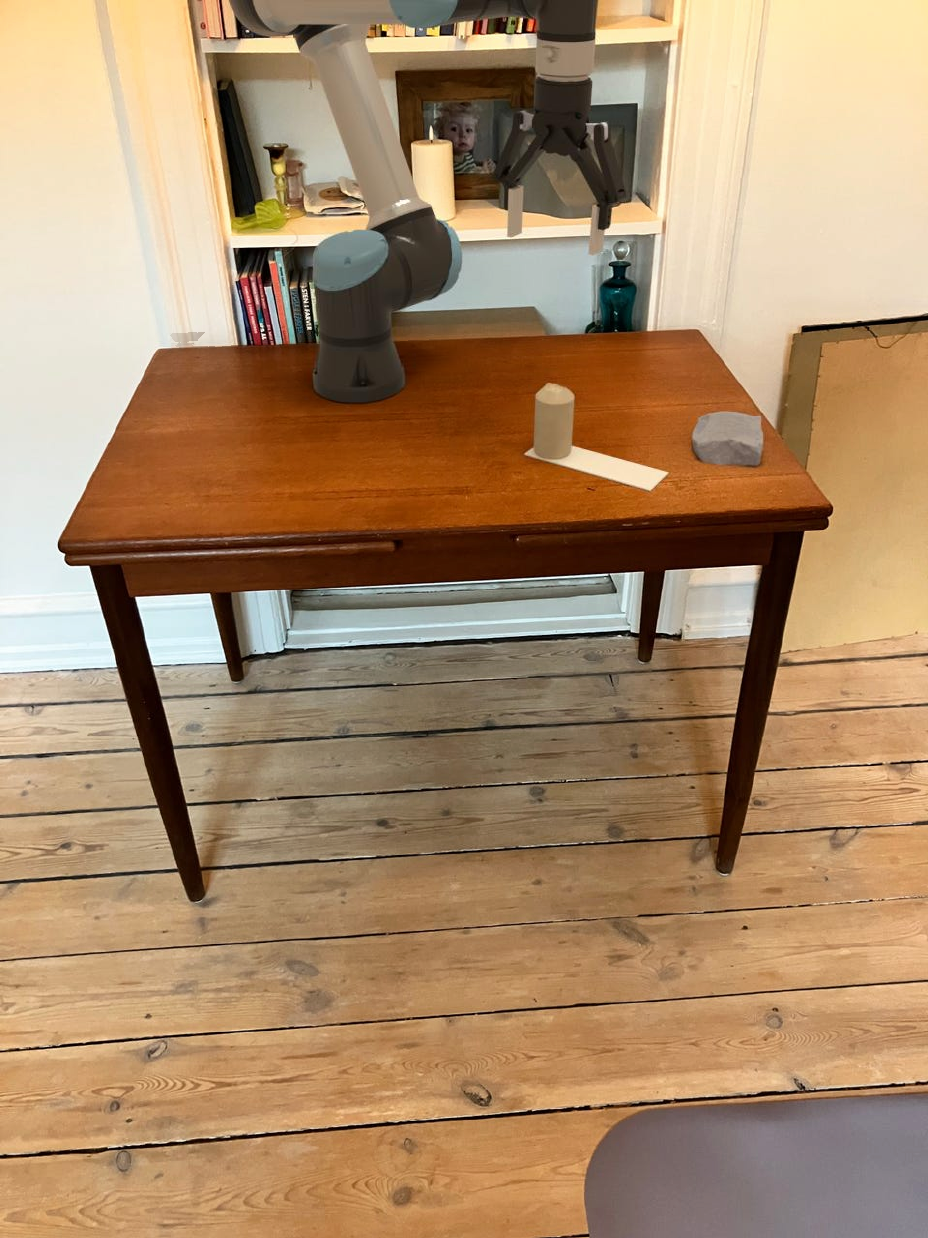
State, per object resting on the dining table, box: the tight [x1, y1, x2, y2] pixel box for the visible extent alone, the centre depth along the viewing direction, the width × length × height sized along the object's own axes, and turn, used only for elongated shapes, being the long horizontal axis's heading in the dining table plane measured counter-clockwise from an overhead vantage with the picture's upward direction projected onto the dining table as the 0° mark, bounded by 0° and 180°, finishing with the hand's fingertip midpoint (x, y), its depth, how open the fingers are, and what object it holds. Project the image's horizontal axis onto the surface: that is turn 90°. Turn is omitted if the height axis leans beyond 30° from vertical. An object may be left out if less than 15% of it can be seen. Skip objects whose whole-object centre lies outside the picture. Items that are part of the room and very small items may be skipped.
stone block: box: [691, 410, 764, 467], centre depth 146 cm, size 12×5×10 cm
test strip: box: [524, 445, 670, 492], centre depth 143 cm, size 20×6×1 cm, turn 57°
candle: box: [533, 382, 576, 459], centre depth 143 cm, size 6×6×10 cm
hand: (554, 243), depth 142 cm, fingers open, 13 cm apart
